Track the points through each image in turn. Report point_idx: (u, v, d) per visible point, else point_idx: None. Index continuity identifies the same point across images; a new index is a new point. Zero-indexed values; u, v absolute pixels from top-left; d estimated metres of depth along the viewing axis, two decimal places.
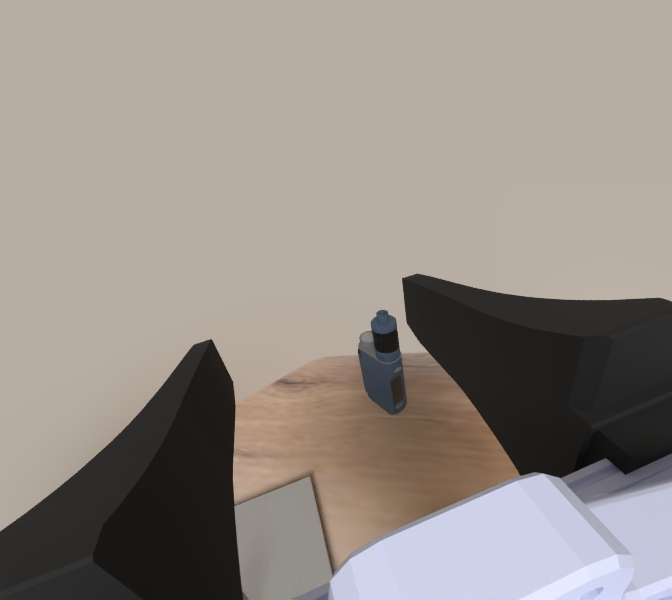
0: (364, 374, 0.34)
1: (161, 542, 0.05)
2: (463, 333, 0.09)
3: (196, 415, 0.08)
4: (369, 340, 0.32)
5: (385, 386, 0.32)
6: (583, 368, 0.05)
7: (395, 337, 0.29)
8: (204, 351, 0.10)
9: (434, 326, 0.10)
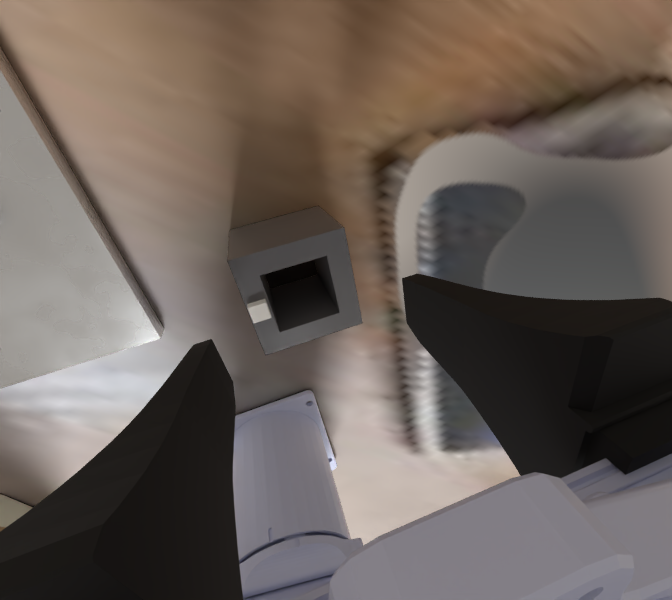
0: None
1: (161, 542, 0.05)
2: (463, 333, 0.09)
3: (196, 415, 0.08)
4: None
5: None
6: (583, 368, 0.05)
7: None
8: (204, 351, 0.10)
9: (434, 327, 0.10)
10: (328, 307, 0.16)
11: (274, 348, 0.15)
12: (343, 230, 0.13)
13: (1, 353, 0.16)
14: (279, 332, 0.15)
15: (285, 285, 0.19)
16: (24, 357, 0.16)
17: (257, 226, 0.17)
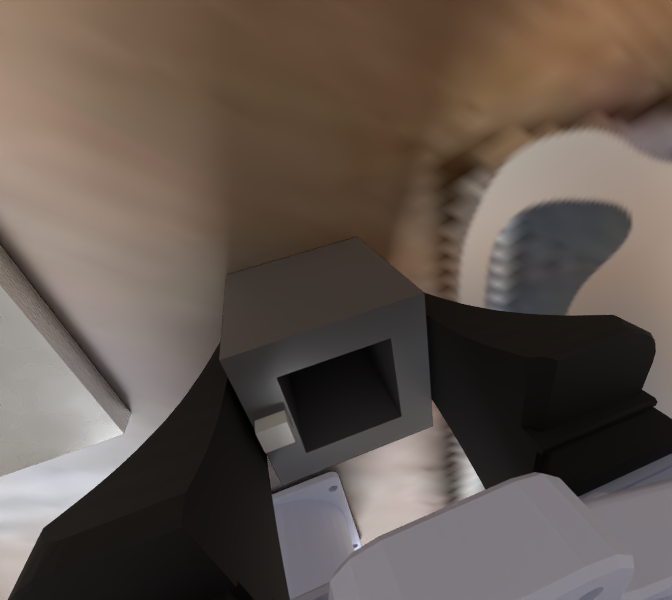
0: None
1: (225, 516, 0.05)
2: (430, 345, 0.09)
3: (237, 401, 0.08)
4: None
5: None
6: (531, 389, 0.05)
7: None
8: None
9: None
10: (380, 402, 0.10)
11: (297, 475, 0.09)
12: (422, 298, 0.08)
13: None
14: (306, 452, 0.09)
15: None
16: None
17: (268, 272, 0.11)
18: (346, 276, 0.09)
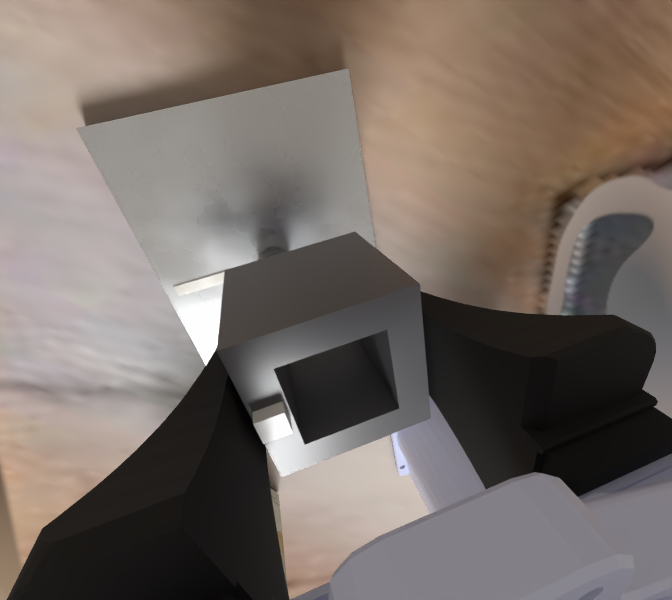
0: None
1: (225, 517, 0.05)
2: (430, 345, 0.09)
3: (236, 401, 0.08)
4: None
5: None
6: (531, 389, 0.05)
7: None
8: None
9: None
10: (377, 395, 0.10)
11: (295, 466, 0.10)
12: (418, 289, 0.08)
13: None
14: (305, 444, 0.09)
15: None
16: None
17: (266, 266, 0.11)
18: (343, 269, 0.09)
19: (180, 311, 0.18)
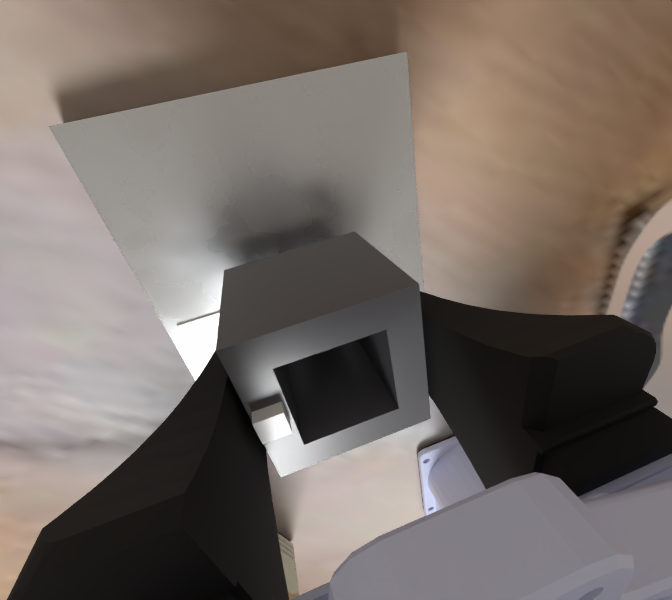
0: None
1: (225, 517, 0.05)
2: (430, 345, 0.09)
3: (236, 401, 0.08)
4: None
5: None
6: (531, 389, 0.05)
7: None
8: None
9: None
10: (377, 395, 0.10)
11: (295, 467, 0.10)
12: (417, 289, 0.08)
13: None
14: (304, 444, 0.09)
15: None
16: None
17: (265, 266, 0.11)
18: (342, 269, 0.09)
19: (185, 354, 0.14)
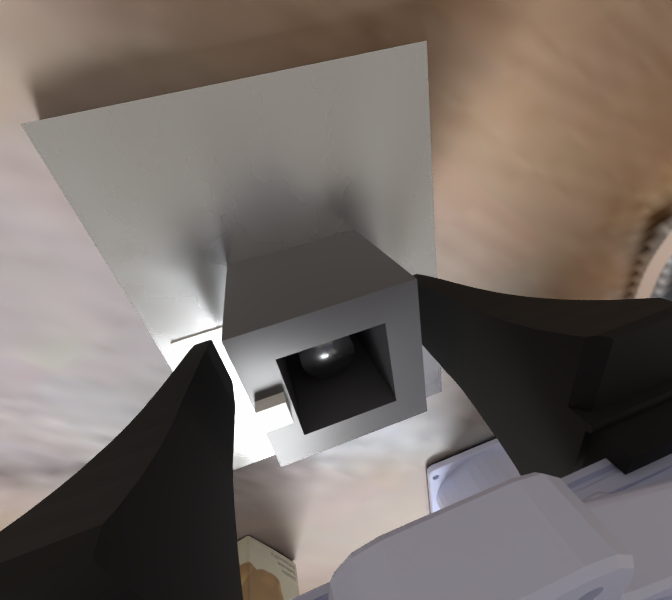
0: None
1: (161, 542, 0.05)
2: (463, 333, 0.09)
3: (196, 415, 0.08)
4: None
5: None
6: (582, 368, 0.05)
7: None
8: (204, 351, 0.10)
9: (434, 327, 0.10)
10: (375, 388, 0.10)
11: (295, 457, 0.10)
12: (415, 284, 0.08)
13: None
14: (304, 434, 0.09)
15: None
16: None
17: (268, 262, 0.11)
18: (343, 265, 0.10)
19: None
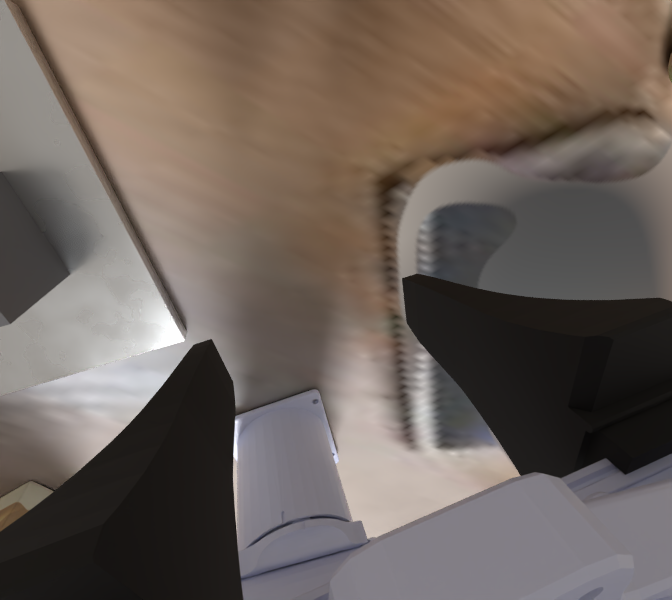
0: None
1: (161, 542, 0.05)
2: (463, 333, 0.09)
3: (196, 415, 0.08)
4: None
5: None
6: (582, 368, 0.05)
7: None
8: (204, 351, 0.10)
9: (434, 327, 0.10)
10: None
11: None
12: None
13: (44, 352, 0.18)
14: None
15: None
16: (64, 356, 0.18)
17: None
18: None
19: None
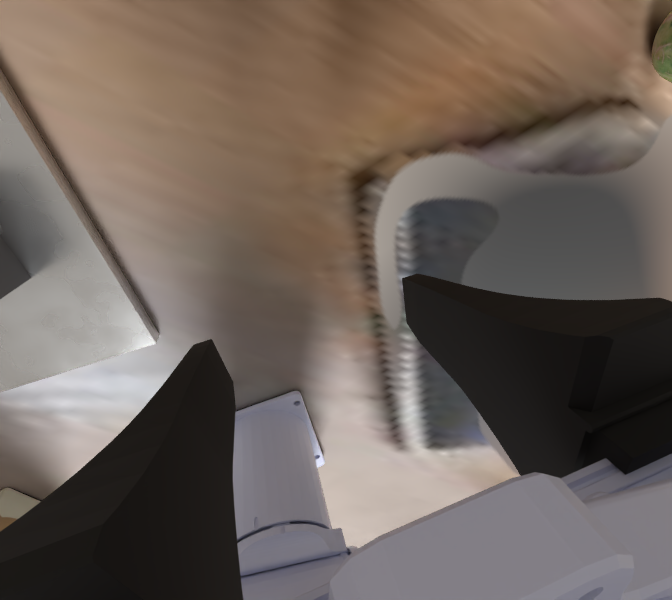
0: None
1: (161, 542, 0.05)
2: (463, 333, 0.09)
3: (196, 415, 0.08)
4: None
5: None
6: (582, 368, 0.05)
7: None
8: (204, 351, 0.10)
9: (434, 327, 0.10)
10: None
11: None
12: None
13: (9, 357, 0.17)
14: None
15: None
16: (31, 361, 0.18)
17: None
18: None
19: None
